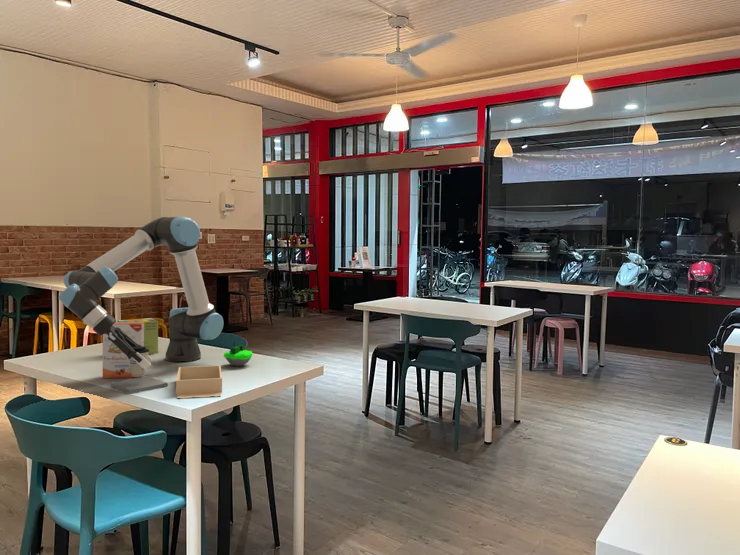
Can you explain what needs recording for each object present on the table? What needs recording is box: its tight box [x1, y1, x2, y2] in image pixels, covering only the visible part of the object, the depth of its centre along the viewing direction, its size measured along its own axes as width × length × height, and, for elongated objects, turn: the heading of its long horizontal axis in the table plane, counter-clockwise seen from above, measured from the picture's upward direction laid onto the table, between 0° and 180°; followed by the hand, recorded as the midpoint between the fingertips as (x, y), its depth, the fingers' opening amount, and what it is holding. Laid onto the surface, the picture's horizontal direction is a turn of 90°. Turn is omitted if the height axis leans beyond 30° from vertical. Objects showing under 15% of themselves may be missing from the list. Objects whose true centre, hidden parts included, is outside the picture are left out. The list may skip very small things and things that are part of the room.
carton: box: [175, 365, 223, 399], centre depth 201 cm, size 15×31×5 cm, turn 17°
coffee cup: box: [130, 346, 149, 377], centre depth 199 cm, size 7×7×10 cm
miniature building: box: [223, 341, 254, 367], centre depth 237 cm, size 12×12×11 cm
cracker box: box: [102, 321, 144, 379], centre depth 213 cm, size 14×6×21 cm, turn 103°
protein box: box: [117, 317, 159, 355], centre depth 257 cm, size 10×15×16 cm
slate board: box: [110, 375, 169, 394], centre depth 199 cm, size 14×14×1 cm
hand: (149, 364), depth 200 cm, fingers closed on coffee cup, 7 cm apart
